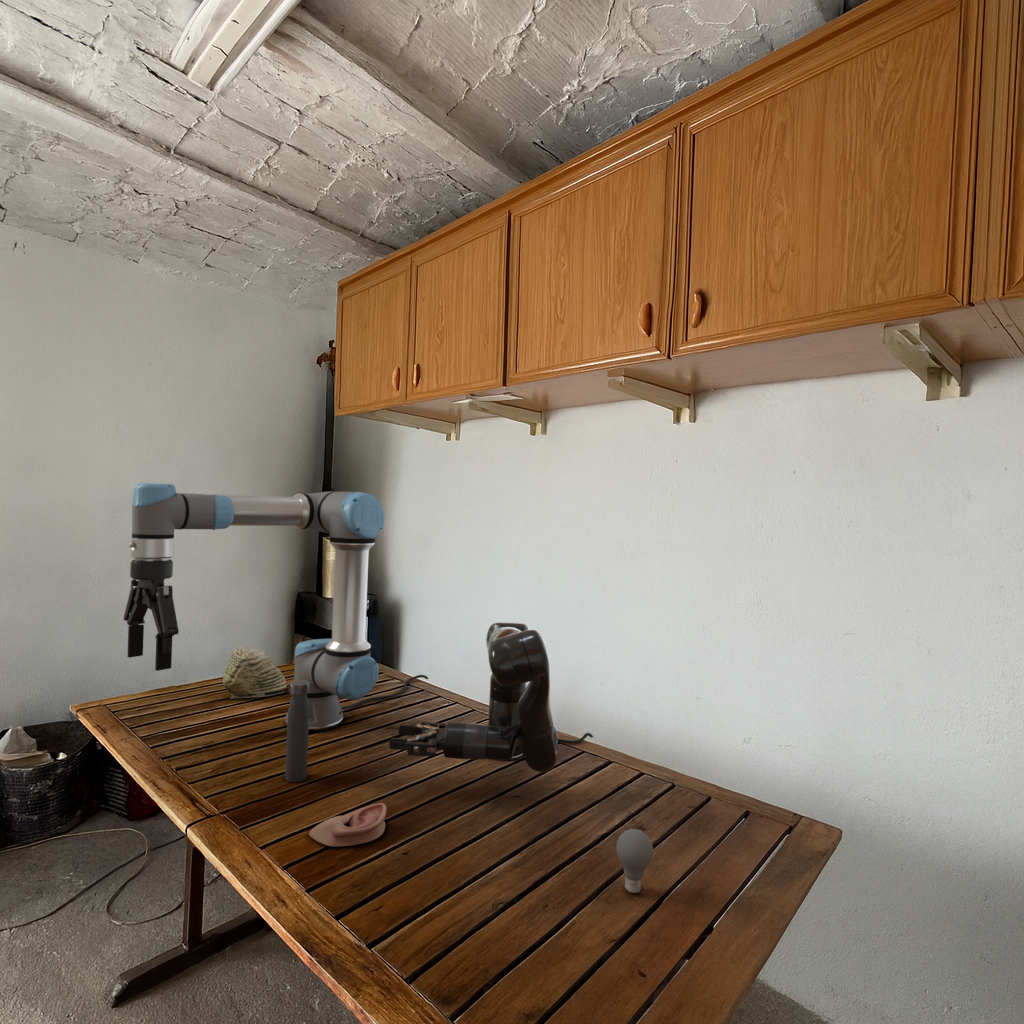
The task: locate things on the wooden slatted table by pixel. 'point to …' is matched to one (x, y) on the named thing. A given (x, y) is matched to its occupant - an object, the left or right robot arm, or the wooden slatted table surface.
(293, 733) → the bottle
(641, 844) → the light bulb
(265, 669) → the fossil
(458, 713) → the wooden slatted table surface
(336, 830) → the anatomical model
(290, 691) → the cap
